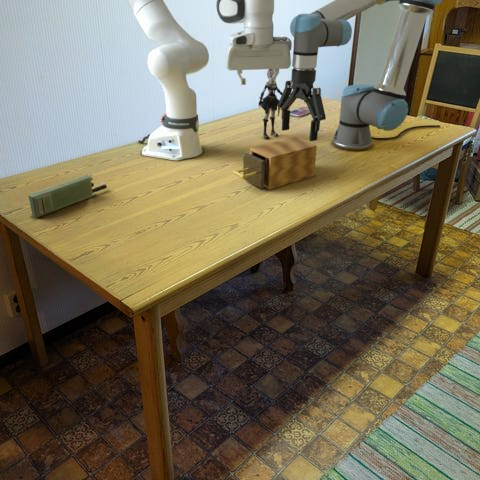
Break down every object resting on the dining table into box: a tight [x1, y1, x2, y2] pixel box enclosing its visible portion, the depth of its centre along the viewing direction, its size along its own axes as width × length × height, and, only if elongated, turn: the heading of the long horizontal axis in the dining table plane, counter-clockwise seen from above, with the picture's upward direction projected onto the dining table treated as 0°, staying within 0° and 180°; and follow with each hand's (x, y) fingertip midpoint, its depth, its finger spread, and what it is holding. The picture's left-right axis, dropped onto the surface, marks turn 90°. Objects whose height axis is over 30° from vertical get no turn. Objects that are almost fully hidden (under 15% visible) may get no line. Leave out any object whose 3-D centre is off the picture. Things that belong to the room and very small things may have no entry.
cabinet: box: [249, 136, 318, 190], centre depth 168 cm, size 20×11×11 cm, turn 127°
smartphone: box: [290, 106, 311, 118], centre depth 240 cm, size 7×1×15 cm
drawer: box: [232, 152, 269, 189], centre depth 165 cm, size 24×9×9 cm, turn 127°
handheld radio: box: [28, 173, 108, 219], centre depth 150 cm, size 7×3×25 cm
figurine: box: [258, 69, 283, 140], centre depth 201 cm, size 15×6×30 cm, turn 132°
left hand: (257, 84), depth 160 cm, fingers open, 8 cm apart
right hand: (298, 135), depth 167 cm, fingers open, 13 cm apart
